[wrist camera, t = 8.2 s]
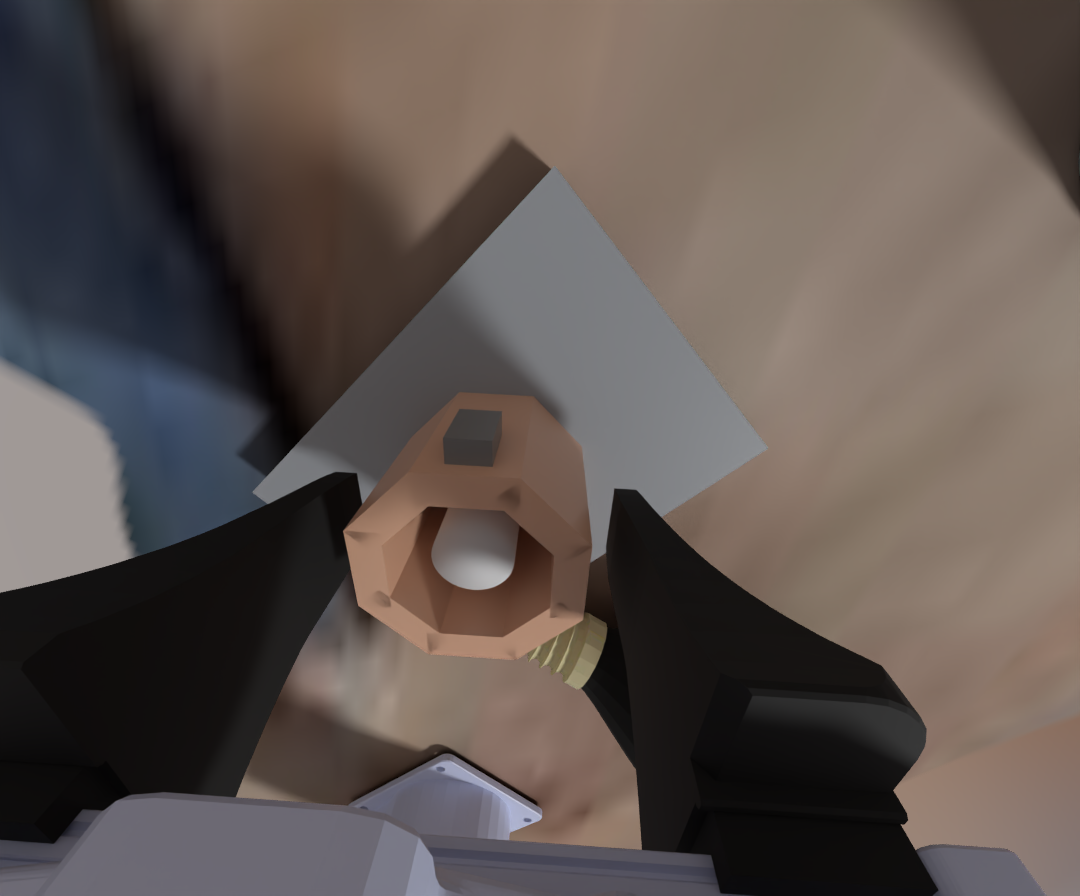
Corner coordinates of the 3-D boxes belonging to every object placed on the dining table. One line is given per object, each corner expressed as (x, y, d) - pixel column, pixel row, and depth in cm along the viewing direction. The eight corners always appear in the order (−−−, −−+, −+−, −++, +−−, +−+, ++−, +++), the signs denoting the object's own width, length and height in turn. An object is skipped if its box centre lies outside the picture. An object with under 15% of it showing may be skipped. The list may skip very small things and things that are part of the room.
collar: (572, 542, 15) (577, 664, 11) (421, 532, 15) (367, 650, 11) (588, 379, 12) (603, 456, 8) (404, 369, 12) (324, 440, 8)
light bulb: (459, 734, 13) (813, 948, 12) (561, 540, 14) (893, 725, 13) (483, 663, 20) (715, 799, 19) (551, 534, 21) (773, 658, 20)
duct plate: (468, 621, 19) (437, 754, 14) (273, 474, 16) (147, 580, 11) (752, 432, 14) (851, 533, 9) (555, 172, 11) (552, 124, 6)
